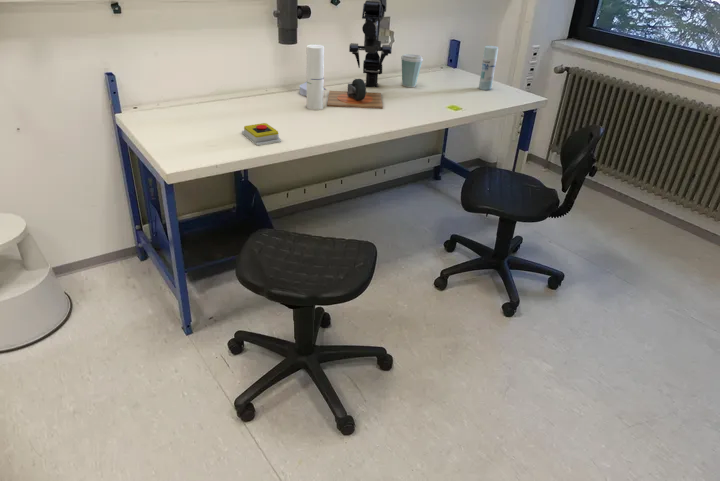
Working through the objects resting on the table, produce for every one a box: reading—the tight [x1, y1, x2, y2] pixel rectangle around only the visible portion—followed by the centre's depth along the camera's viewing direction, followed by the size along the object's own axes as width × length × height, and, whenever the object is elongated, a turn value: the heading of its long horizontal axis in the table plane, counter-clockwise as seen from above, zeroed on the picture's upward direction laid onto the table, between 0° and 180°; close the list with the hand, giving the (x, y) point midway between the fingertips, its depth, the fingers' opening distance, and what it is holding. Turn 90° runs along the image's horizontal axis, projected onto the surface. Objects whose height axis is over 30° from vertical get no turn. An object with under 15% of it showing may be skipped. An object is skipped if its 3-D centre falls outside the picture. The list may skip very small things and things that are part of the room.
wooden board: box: [326, 90, 384, 110], centre depth 240 cm, size 22×24×1 cm
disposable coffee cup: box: [400, 53, 424, 88], centre depth 262 cm, size 11×11×15 cm
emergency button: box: [241, 122, 282, 147], centre depth 194 cm, size 9×4×15 cm
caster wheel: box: [346, 78, 367, 101], centre depth 238 cm, size 6×10×15 cm
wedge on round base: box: [299, 80, 327, 97], centre depth 244 cm, size 9×7×13 cm
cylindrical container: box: [305, 43, 325, 111], centre depth 223 cm, size 7×7×25 cm
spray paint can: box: [478, 45, 499, 91], centre depth 263 cm, size 6×6×20 cm
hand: (369, 68), depth 243 cm, fingers open, 9 cm apart
